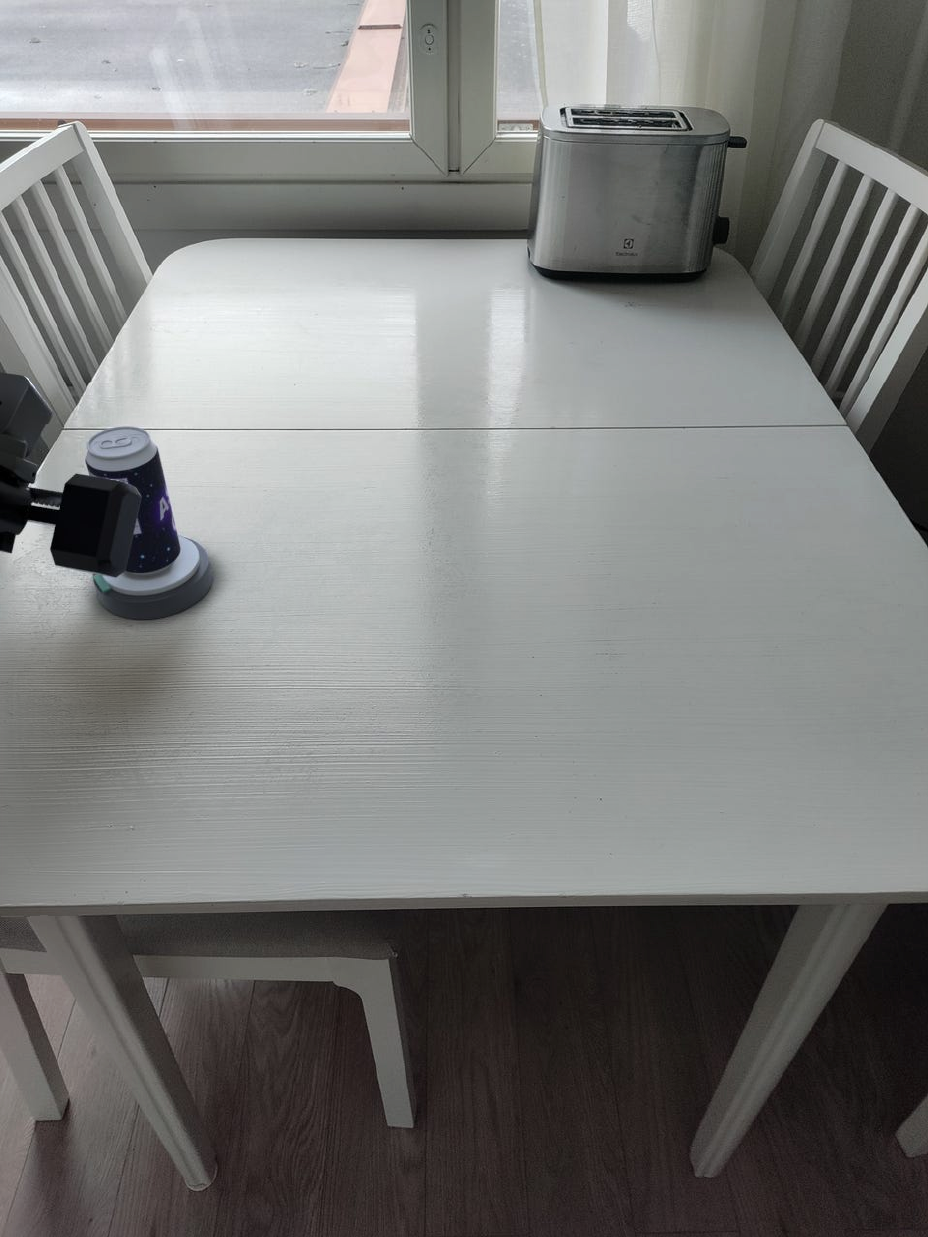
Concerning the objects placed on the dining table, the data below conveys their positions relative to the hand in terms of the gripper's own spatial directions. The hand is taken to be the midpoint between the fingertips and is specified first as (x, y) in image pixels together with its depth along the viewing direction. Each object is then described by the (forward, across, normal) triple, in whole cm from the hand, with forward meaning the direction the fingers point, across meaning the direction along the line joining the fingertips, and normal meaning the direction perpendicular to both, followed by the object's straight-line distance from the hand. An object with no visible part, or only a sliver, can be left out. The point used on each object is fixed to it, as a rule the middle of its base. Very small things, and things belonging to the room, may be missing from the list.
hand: (72, 533), depth 72 cm
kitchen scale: (+14, 0, +2) cm, 14 cm away
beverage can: (+12, 0, 0) cm, 12 cm away
